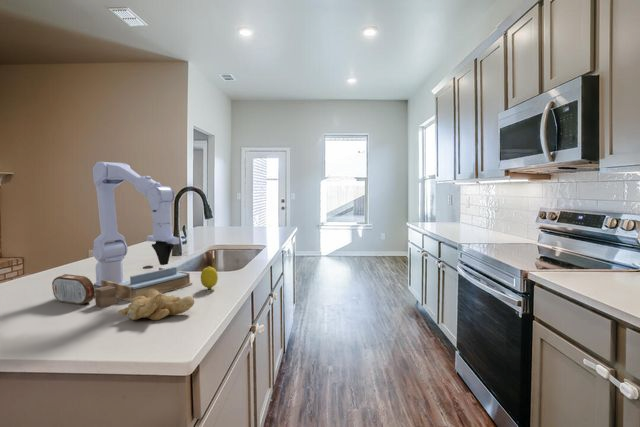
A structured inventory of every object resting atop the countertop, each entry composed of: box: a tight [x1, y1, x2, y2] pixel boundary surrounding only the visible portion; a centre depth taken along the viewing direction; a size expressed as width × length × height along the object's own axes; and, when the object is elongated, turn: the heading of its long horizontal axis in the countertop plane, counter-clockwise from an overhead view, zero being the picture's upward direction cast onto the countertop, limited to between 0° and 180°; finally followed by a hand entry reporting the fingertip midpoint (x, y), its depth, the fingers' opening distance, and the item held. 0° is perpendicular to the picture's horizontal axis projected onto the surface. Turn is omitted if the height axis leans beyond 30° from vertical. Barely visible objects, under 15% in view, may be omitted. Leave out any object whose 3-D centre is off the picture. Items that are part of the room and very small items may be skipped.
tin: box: [51, 273, 96, 306], centre depth 110 cm, size 15×3×8 cm, turn 71°
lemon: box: [200, 265, 219, 290], centre depth 122 cm, size 6×6×8 cm
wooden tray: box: [100, 267, 193, 303], centre depth 124 cm, size 19×23×4 cm
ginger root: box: [117, 289, 195, 321], centre depth 97 cm, size 16×16×8 cm
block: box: [94, 286, 117, 308], centre depth 108 cm, size 4×4×5 cm
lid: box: [119, 266, 187, 289], centre depth 122 cm, size 8×20×3 cm, turn 147°
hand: (164, 264), depth 118 cm, fingers closed
